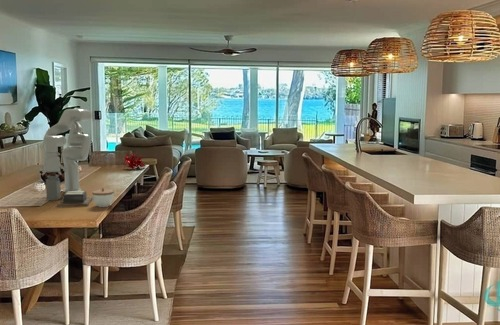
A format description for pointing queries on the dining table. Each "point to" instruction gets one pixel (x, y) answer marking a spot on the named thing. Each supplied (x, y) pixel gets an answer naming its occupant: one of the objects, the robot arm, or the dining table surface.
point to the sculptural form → (133, 161)
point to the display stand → (74, 199)
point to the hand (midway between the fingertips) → (52, 180)
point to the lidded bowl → (103, 197)
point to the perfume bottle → (53, 187)
